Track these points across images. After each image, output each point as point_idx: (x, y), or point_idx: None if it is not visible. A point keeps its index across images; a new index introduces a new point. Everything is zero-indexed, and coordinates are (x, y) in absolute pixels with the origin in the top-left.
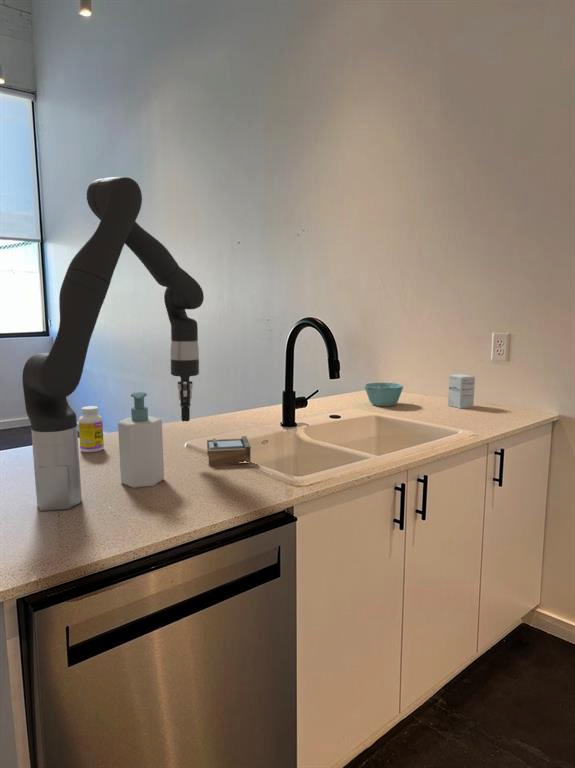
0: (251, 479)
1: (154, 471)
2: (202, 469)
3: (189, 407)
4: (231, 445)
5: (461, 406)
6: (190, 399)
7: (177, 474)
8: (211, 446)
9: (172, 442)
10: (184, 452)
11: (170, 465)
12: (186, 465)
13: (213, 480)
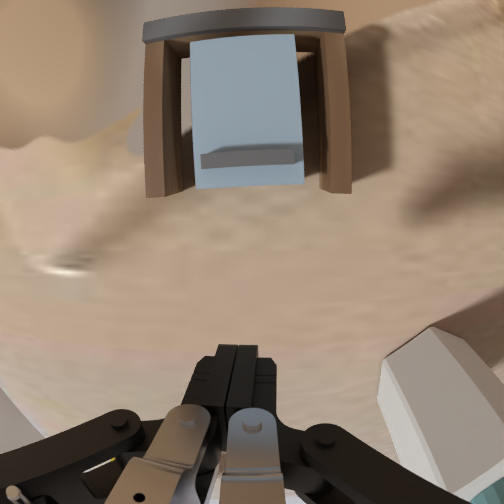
0: (478, 83)
1: (479, 357)
2: (374, 214)
3: (264, 412)
4: (283, 80)
5: None
6: (280, 473)
7: (402, 294)
8: (286, 176)
9: (47, 309)
10: (145, 277)
11: (302, 321)
12: (315, 269)
13: (475, 188)
